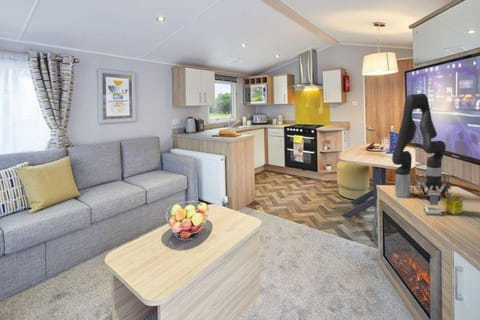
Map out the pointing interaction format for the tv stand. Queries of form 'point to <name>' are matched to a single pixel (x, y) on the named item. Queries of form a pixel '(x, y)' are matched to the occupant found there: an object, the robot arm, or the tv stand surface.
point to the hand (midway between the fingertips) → (433, 200)
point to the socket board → (433, 211)
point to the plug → (433, 198)
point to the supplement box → (454, 204)
